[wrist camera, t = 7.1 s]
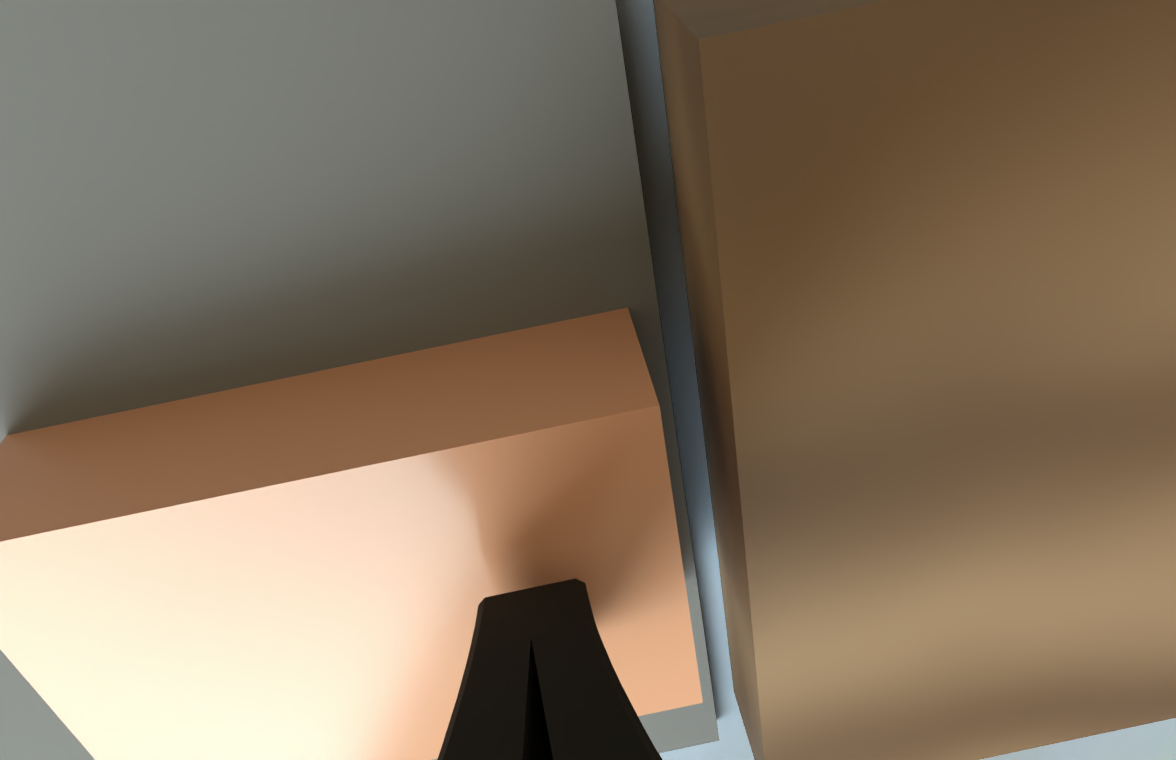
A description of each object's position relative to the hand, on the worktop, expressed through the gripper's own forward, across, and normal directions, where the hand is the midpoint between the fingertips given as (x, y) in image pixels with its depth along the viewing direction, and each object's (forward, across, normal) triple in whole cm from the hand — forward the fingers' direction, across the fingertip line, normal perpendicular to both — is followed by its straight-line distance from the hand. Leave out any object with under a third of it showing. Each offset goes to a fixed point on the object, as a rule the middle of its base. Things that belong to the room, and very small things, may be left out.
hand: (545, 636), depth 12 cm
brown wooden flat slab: (+3, -10, 0) cm, 11 cm away
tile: (+2, +2, 0) cm, 3 cm away
